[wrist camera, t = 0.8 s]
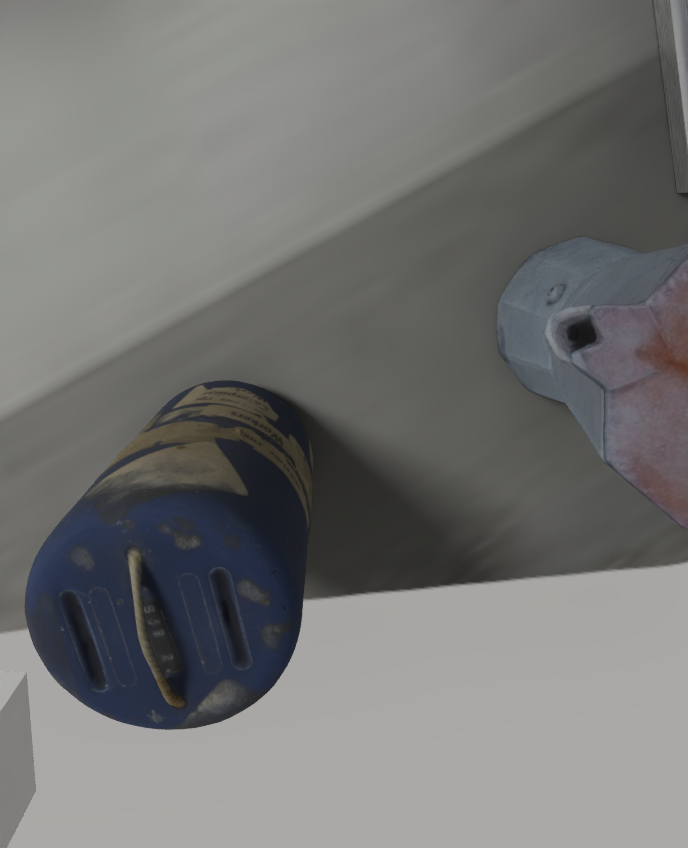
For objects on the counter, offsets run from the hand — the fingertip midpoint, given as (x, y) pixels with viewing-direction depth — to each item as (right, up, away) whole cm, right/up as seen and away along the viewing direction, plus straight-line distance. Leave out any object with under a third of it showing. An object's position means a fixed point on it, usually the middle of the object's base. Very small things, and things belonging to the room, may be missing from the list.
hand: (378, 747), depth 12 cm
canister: (-7, +4, +25) cm, 27 cm away
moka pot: (+12, +12, +23) cm, 29 cm away
